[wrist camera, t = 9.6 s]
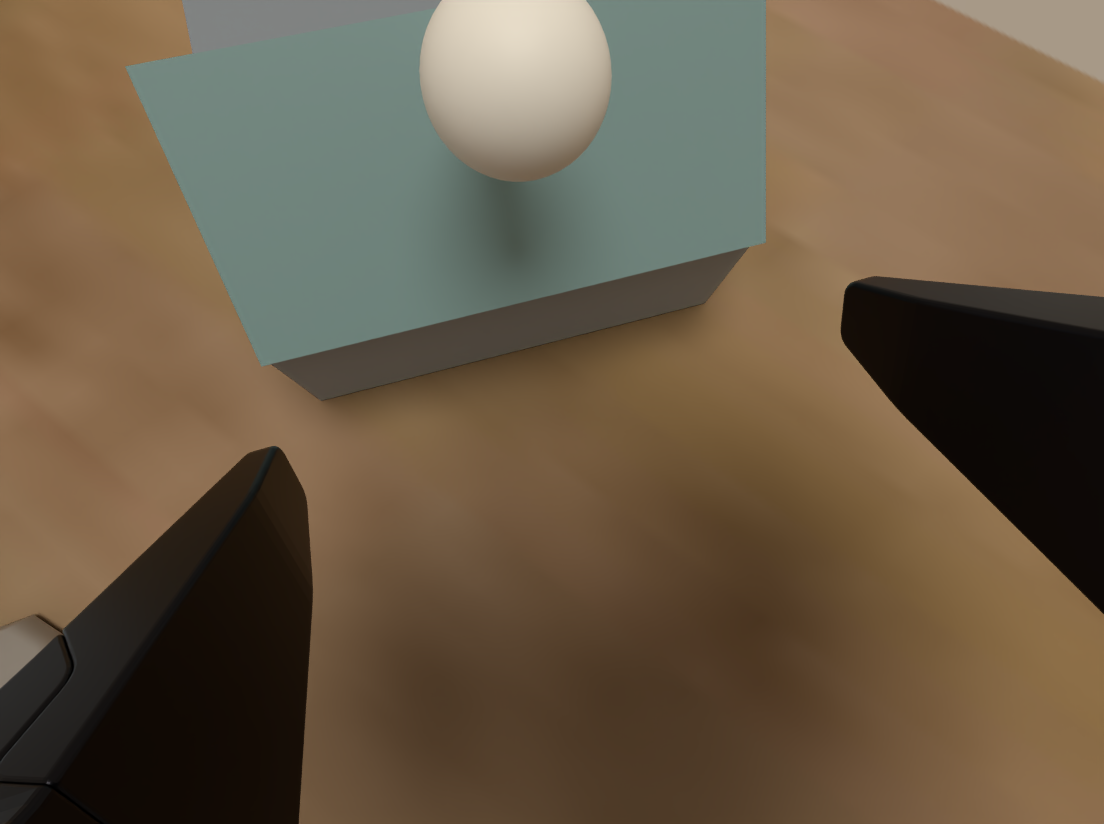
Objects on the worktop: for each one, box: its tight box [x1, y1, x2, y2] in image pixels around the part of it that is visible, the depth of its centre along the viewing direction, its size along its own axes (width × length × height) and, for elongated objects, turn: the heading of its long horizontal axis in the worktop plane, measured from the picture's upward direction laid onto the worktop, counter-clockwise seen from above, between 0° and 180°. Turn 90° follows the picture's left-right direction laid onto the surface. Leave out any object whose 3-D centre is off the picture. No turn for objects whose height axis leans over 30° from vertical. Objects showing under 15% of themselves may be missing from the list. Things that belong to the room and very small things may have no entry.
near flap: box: [125, 0, 766, 366], centre depth 12 cm, size 7×14×7 cm
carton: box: [182, 0, 749, 401], centre depth 20 cm, size 14×14×6 cm
